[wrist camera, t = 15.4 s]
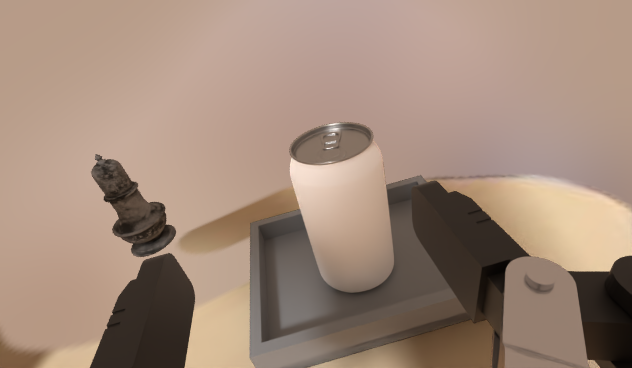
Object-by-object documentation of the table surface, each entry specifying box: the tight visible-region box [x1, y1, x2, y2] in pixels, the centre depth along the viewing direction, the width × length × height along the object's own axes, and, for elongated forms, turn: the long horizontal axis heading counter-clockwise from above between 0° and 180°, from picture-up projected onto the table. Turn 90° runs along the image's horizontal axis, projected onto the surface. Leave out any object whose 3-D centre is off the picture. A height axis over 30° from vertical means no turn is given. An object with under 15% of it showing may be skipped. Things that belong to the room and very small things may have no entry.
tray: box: [250, 175, 471, 368], centre depth 28 cm, size 18×14×3 cm
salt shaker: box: [91, 154, 176, 257], centre depth 35 cm, size 6×6×12 cm
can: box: [289, 122, 394, 293], centre depth 24 cm, size 6×6×12 cm
